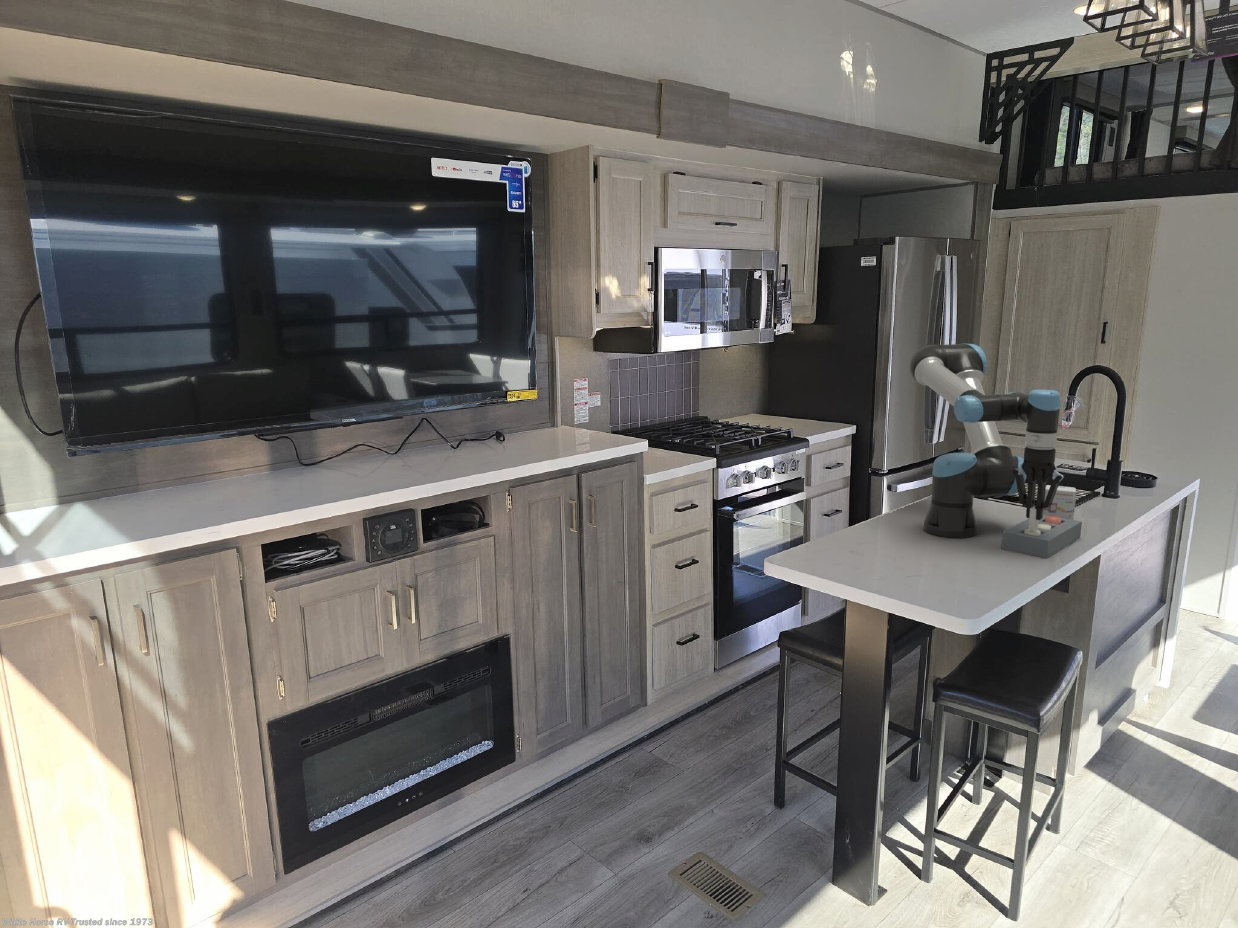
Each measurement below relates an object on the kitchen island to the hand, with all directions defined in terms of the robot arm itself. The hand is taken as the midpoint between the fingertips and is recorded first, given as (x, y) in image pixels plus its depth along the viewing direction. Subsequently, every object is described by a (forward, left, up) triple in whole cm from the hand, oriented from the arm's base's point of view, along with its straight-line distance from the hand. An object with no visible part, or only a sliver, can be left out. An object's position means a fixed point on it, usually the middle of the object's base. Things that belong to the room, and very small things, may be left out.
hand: (1033, 530), depth 218 cm
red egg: (+7, +13, -4) cm, 16 cm away
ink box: (+10, +28, -6) cm, 30 cm away
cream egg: (+3, +7, -5) cm, 9 cm away
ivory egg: (0, 0, -5) cm, 5 cm away
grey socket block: (+3, +7, -6) cm, 9 cm away
